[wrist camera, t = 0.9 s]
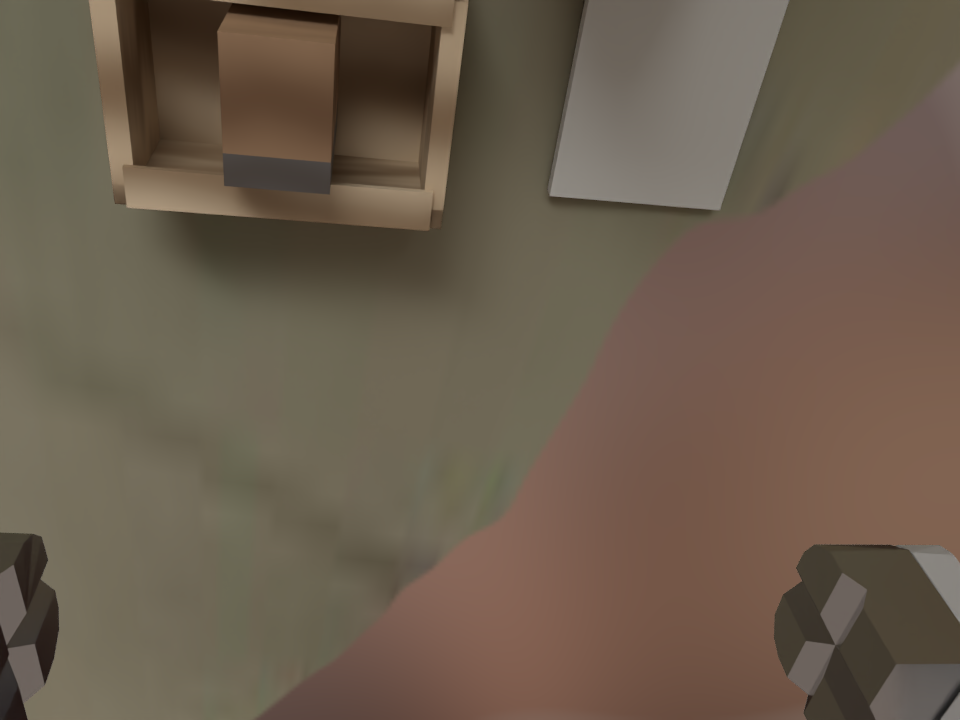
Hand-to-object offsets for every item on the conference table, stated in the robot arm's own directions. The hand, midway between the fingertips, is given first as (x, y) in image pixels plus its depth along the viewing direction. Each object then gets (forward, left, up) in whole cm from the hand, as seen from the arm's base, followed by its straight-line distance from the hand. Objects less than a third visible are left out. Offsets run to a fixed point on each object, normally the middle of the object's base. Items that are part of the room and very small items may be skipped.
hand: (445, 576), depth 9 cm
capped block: (+6, -4, -37) cm, 38 cm away
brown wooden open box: (+6, -4, -37) cm, 38 cm away
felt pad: (+6, +15, -37) cm, 41 cm away
